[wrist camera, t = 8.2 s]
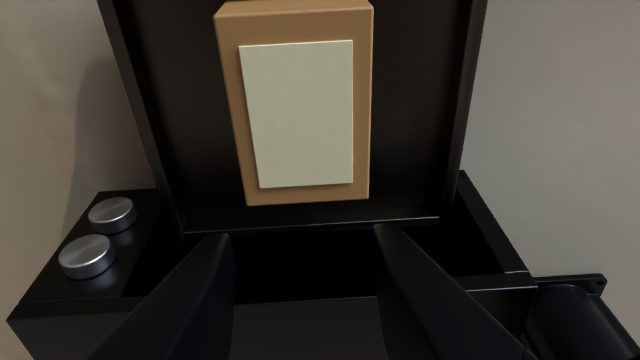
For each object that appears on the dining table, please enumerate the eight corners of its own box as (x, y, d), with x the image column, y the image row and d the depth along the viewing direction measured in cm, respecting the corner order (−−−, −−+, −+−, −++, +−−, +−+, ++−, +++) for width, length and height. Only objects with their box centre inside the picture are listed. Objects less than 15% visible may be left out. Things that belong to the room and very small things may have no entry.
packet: (353, -20, 15) (375, 6, 11) (353, 134, 19) (369, 201, 14) (236, -14, 15) (210, 16, 11) (258, 140, 19) (246, 209, 14)
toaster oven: (466, 156, 22) (545, 271, 15) (435, 330, 30) (477, 457, 23) (93, 179, 22) (-6, 305, 15) (164, 347, 30) (122, 481, 23)
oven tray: (515, -282, 12) (597, -357, 9) (441, 208, 22) (466, 259, 19) (37, -258, 12) (-67, -326, 9) (181, 223, 22) (159, 279, 19)
